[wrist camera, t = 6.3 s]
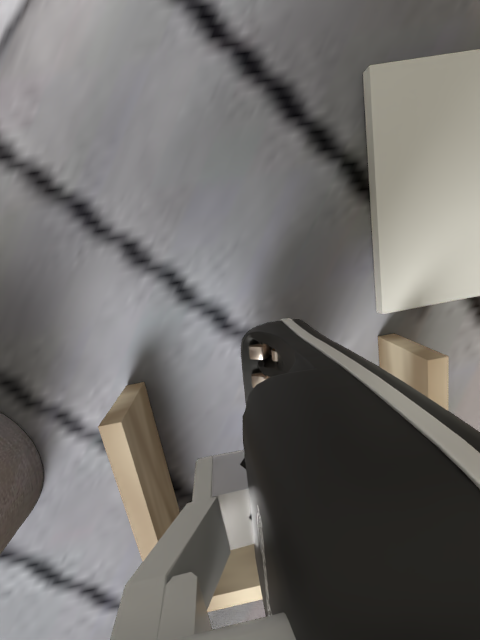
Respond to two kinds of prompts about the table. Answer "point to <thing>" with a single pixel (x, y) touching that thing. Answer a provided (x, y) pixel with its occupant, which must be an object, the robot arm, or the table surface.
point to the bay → (154, 479)
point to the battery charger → (357, 494)
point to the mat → (424, 178)
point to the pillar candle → (17, 478)
